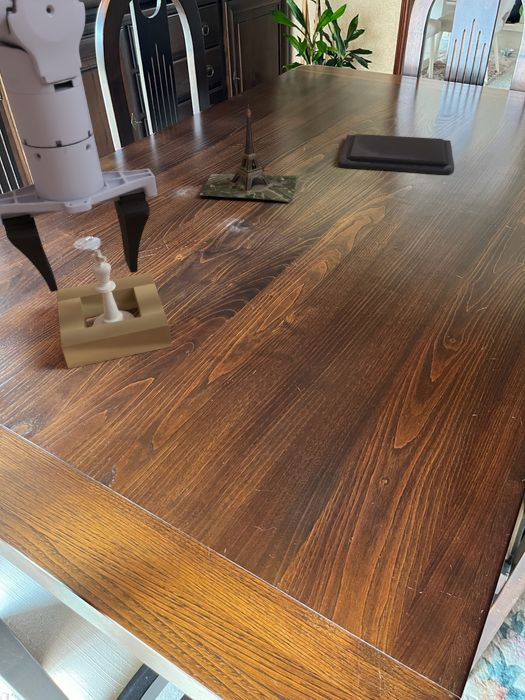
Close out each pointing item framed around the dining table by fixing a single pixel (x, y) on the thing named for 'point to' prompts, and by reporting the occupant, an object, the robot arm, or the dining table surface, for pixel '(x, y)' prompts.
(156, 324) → the socket
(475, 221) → the dining table surface
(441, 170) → the black flat block
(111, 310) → the chess piece
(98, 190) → the robot arm
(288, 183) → the eiffel tower figurine
